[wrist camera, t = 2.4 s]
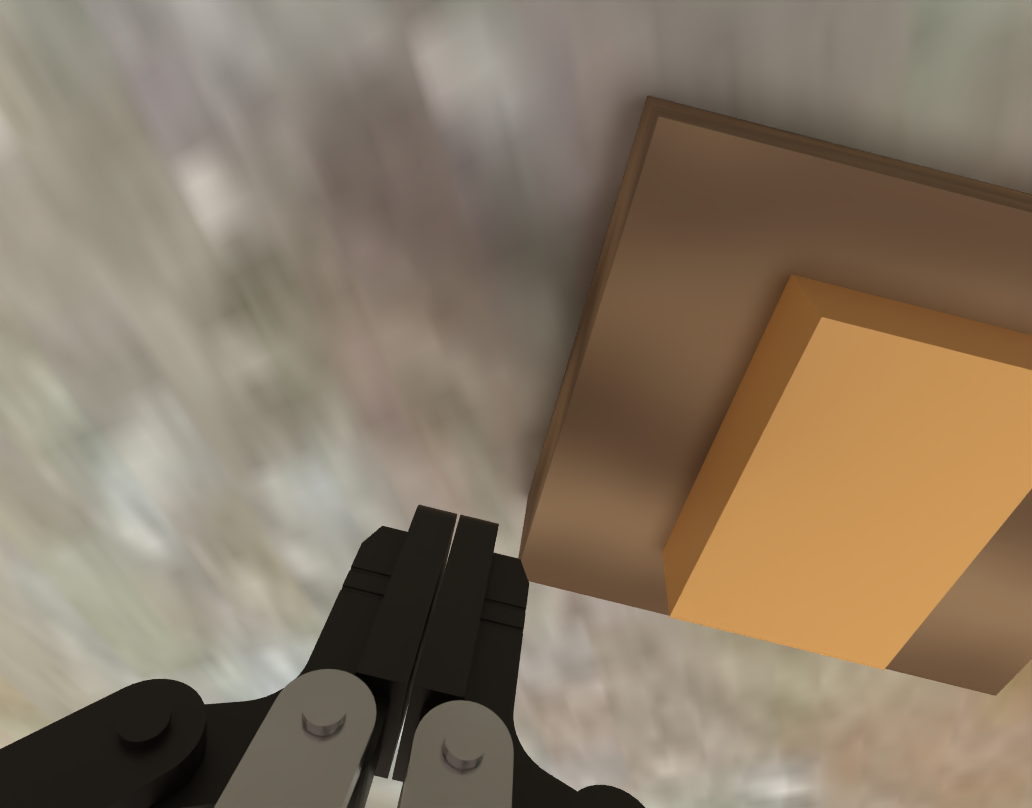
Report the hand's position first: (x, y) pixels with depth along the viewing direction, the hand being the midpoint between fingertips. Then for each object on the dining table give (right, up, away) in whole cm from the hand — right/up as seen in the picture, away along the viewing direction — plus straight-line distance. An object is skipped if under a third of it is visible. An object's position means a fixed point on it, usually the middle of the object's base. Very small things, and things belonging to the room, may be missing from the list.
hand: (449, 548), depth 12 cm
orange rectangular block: (+9, +1, +4) cm, 10 cm away
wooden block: (+11, +3, +9) cm, 14 cm away
